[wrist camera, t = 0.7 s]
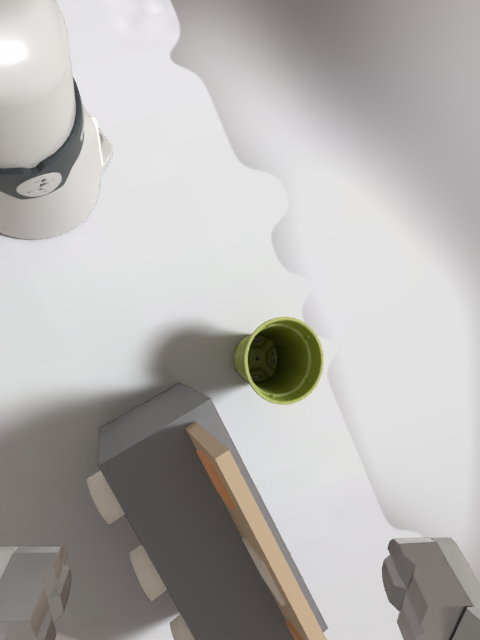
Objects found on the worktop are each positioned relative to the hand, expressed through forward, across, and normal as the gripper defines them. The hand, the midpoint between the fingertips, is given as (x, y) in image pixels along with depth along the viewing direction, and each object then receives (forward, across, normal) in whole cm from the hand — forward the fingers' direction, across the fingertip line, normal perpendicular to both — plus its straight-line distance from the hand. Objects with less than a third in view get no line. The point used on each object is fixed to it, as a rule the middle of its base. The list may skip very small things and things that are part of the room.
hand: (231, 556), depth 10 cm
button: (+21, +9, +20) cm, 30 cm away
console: (+27, +3, +28) cm, 39 cm away
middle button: (+19, +6, +26) cm, 33 cm away
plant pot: (+36, -5, +15) cm, 40 cm away
